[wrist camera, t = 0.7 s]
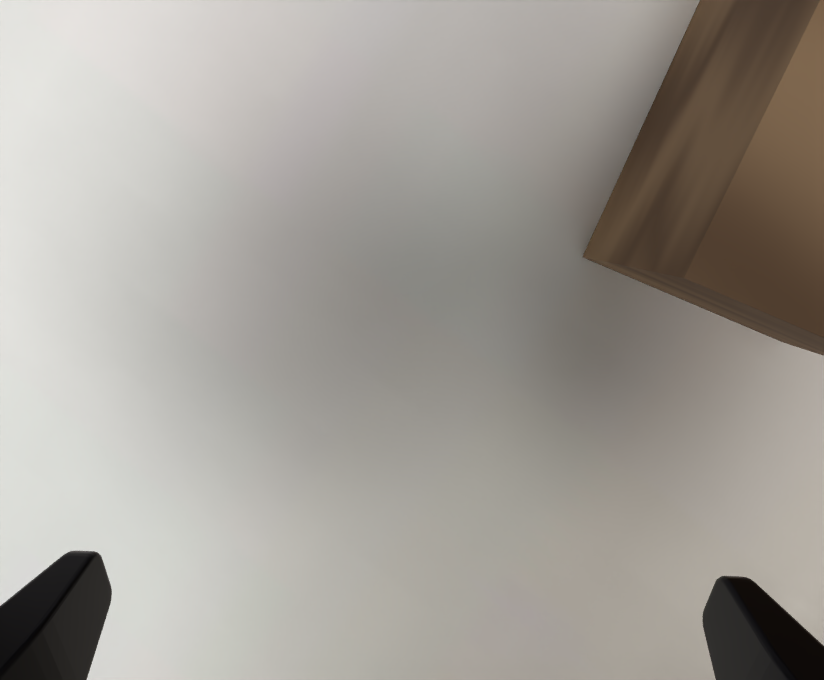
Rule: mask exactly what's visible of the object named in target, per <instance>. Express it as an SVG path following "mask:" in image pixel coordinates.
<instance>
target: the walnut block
mask: <svg viewBox="0 0 824 680" xmlns="http://www.w3.org/2000/svg"><path fill="white" fill-rule="evenodd" d="M583 257H584V258H586V259H588V260H591V261H593V262H595V263H598V264H600V265H602V266H605V267H607V268H609V269H612V270H614V271H617V272H619V273H621V274H624V275H626V276H628V277H631V278H633V279H635V280H638V281H640V282H642V283H645V284H647V285H649V286H652V287H654V288H657V289H659V290H661V291H664V292H666V293H668V294H671V295H673V296H675V297H678V298H680V299H682V300H685V301H687V302H689V303H692V304H694V305H697V306H699V307H701V308H704V309H706V310H708V311H711V312H713V313H715V314H718V315H720V316H722V317H725V318H727V319H729V320H732V321H734V322H737V323H739V324H741V325H744V326H746V327H748V328H751V329H753V330H755V331H758V332H760V333H762V334H765V335H767V336H769V337H772V338H774V339H777V340H779V341H781V342H784V343H787V344H790V345H793V346H796V347H799V348H802V349H806V350H809V351H812V352H815V353H818V354H821V355H824V0H700V2H699V4H698V6H697V8H696V11H695V13H694V15H693V17H692V19H691V21H690V24H689V26H688V28H687V30H686V32H685V34H684V37H683V39H682V41H681V43H680V45H679V48H678V50H677V52H676V54H675V56H674V58H673V61H672V63H671V65H670V67H669V69H668V72H667V74H666V76H665V78H664V80H663V82H662V85H661V87H660V89H659V91H658V93H657V96H656V98H655V100H654V102H653V104H652V106H651V109H650V111H649V113H648V115H647V117H646V119H645V122H644V124H643V126H642V128H641V130H640V133H639V135H638V137H637V139H636V141H635V143H634V146H633V148H632V150H631V152H630V154H629V157H628V159H627V161H626V163H625V165H624V167H623V170H622V172H621V174H620V176H619V178H618V180H617V183H616V185H615V187H614V189H613V191H612V194H611V196H610V198H609V200H608V202H607V204H606V207H605V209H604V211H603V213H602V215H601V218H600V220H599V222H598V224H597V226H596V228H595V231H594V233H593V235H592V237H591V239H590V241H589V244H588V246H587V248H586V250H585V252H584V255H583Z"/></svg>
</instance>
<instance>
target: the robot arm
mask: <svg viewBox="0 0 824 680" xmlns="http://www.w3.org/2000/svg"><path fill="white" fill-rule="evenodd" d="M111 595H112V591H111V585H110V582H109V579H108V576H107V572H106V569H105V566H104V563H103V560H102V557H101V555H100V554H99V553H97V552H94V551H70V552H68V553H66V554H64V555H63V556H62V557H60V558H59V559H58V560H57V561H55V562H54V563H53V564H52V565H50V566H49V567H48V568H47V569H46V570H44V571H43V572H42V573H41V574H39V575H38V576H37V577H36V578H34V579H33V580H32V581H31V582H29V583H28V584H27V585H26V586H24V587H23V588H22V589H21V590H19V591H18V592H17V593H16V594H15V595H13V596H12V597H11V598H10V599H8V600H7V601H6V602H5V603H3V604H2V605H1V606H0V680H87V677H88V673H89V670H90V667H91V664H92V661H93V657H94V654H95V651H96V648H97V645H98V641H99V638H100V635H101V632H102V629H103V626H104V622H105V619H106V616H107V613H108V610H109V606H110V603H111ZM703 628H704V632H705V636H706V641H707V645H708V649H709V653H710V657H711V661H712V666H713V670H714V674H715V678H716V680H824V646H823V645H822V644H821V643H820V642H819V641H818V640H817V639H816V638H815V637H813V636H812V635H811V634H810V633H809V632H808V631H807V630H806V629H805V628H804V627H803V626H802V625H800V624H799V623H798V622H797V621H796V620H795V619H794V618H793V617H792V616H791V615H790V614H789V613H788V612H786V611H785V610H784V609H783V608H782V607H781V606H780V605H779V604H778V603H777V602H776V601H775V600H773V599H772V598H771V597H770V596H769V595H768V594H767V593H766V592H765V591H764V590H763V589H762V588H760V587H759V586H758V585H757V584H756V583H755V582H754V581H752V580H751V579H749V578H747V577H736V576H721V577H720V578H718V579H717V580H716V582H715V584H714V587H713V589H712V592H711V594H710V596H709V599H708V601H707V603H706V606H705V608H704V611H703Z"/></svg>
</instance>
